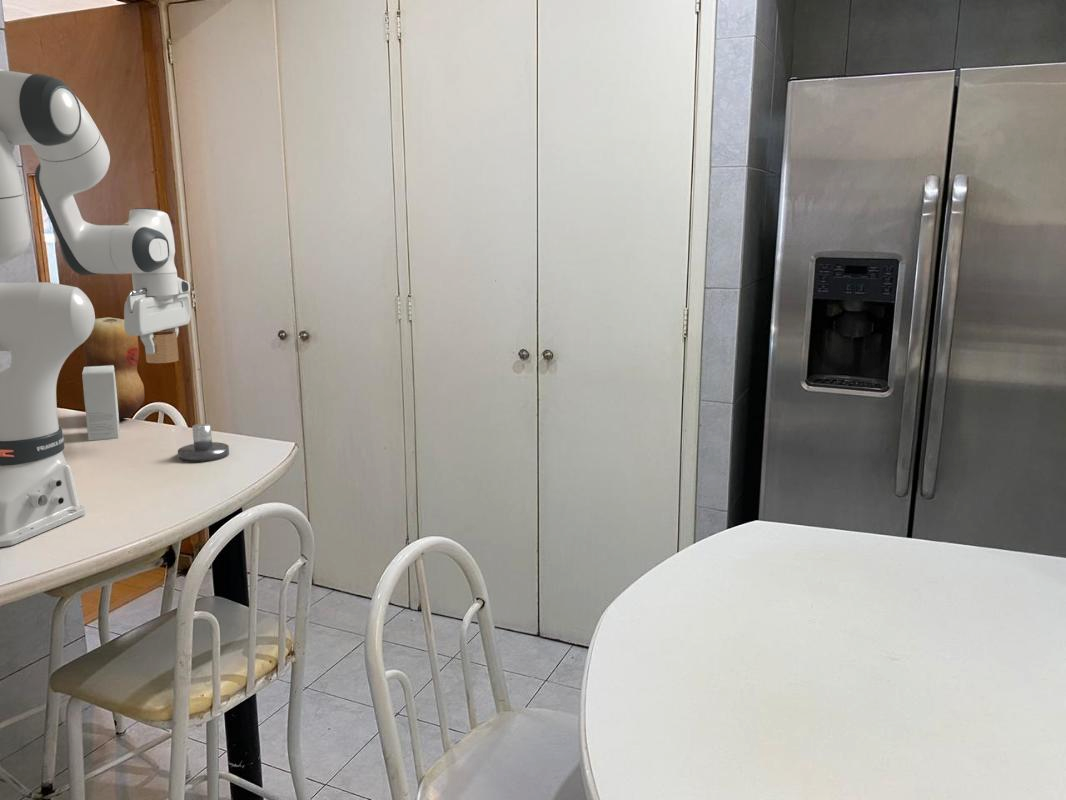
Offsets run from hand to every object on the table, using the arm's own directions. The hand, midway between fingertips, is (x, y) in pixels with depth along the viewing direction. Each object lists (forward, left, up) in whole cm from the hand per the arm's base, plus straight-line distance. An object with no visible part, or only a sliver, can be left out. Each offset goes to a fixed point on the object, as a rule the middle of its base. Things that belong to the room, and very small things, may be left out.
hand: (161, 350), depth 177 cm
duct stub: (-8, -12, -21) cm, 25 cm away
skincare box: (+4, +18, -21) cm, 28 cm away
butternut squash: (+18, +24, -21) cm, 37 cm away
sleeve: (0, 0, -2) cm, 2 cm away
